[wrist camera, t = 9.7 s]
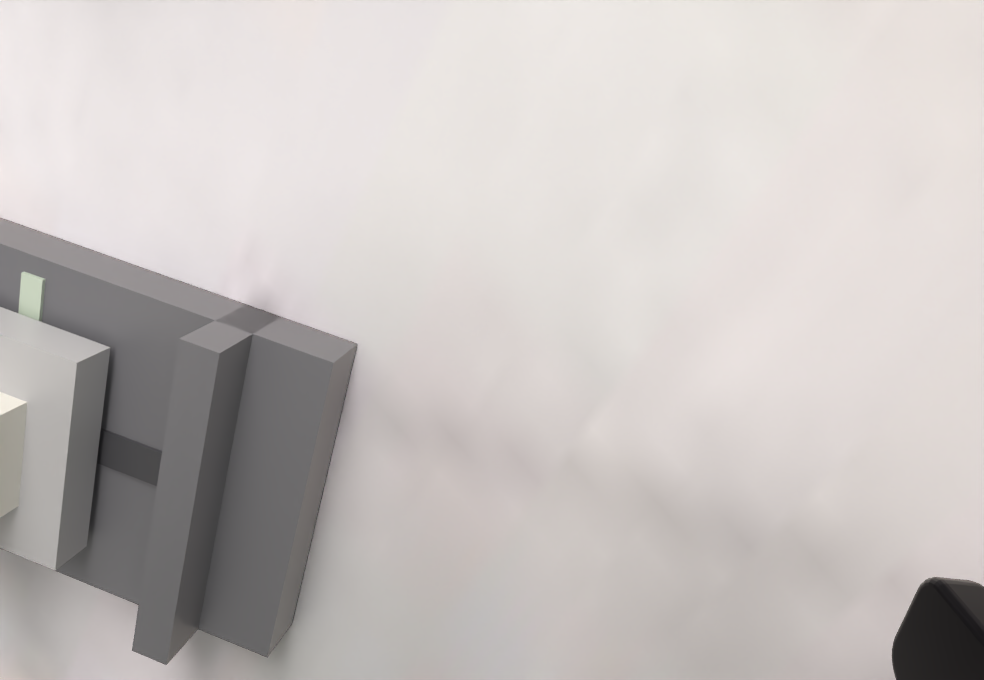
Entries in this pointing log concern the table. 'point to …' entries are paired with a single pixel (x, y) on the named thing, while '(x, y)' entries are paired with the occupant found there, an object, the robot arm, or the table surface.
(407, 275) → the table surface
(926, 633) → the robot arm
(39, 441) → the lever
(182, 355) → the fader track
